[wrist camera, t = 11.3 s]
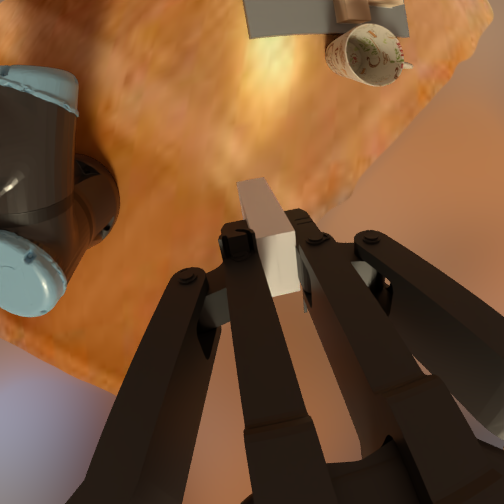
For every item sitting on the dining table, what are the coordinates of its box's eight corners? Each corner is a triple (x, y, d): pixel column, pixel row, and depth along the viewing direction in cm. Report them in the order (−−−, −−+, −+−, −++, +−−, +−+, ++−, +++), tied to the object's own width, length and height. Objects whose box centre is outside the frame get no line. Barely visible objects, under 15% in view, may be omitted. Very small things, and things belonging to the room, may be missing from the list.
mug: (316, 29, 36) (344, 18, 28) (391, 40, 38) (429, 37, 29) (317, 81, 41) (345, 83, 32) (391, 88, 42) (428, 94, 33)
